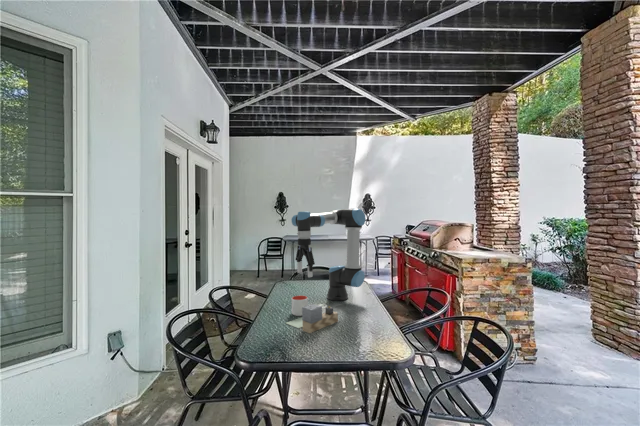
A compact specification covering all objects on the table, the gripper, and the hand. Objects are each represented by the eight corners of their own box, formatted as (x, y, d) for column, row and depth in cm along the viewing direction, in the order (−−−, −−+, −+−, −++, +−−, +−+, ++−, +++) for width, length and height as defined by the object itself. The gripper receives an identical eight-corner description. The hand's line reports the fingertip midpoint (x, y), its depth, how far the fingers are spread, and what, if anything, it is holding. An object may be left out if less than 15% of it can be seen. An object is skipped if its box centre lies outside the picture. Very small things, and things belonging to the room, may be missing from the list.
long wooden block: (330, 319, 170) (330, 310, 170) (337, 321, 166) (337, 312, 166) (302, 330, 154) (302, 321, 154) (309, 333, 150) (309, 323, 151)
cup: (305, 317, 174) (305, 300, 174) (289, 316, 176) (289, 299, 176) (309, 311, 184) (309, 295, 184) (294, 310, 186) (294, 295, 186)
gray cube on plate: (313, 316, 161) (312, 303, 161) (322, 319, 156) (322, 306, 156) (302, 320, 155) (302, 307, 155) (311, 323, 150) (311, 310, 150)
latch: (329, 311, 167) (329, 305, 167) (333, 313, 165) (333, 306, 165) (325, 313, 165) (325, 306, 165) (329, 314, 163) (329, 307, 163)
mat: (301, 317, 173) (301, 317, 173) (314, 322, 165) (314, 321, 165) (285, 323, 164) (285, 322, 164) (298, 328, 157) (298, 328, 157)
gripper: (289, 237, 178) (290, 271, 178) (308, 240, 156) (308, 279, 156) (300, 236, 182) (301, 270, 182) (320, 239, 160) (321, 278, 160)
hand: (304, 274), depth 169 cm, fingers open, 13 cm apart
